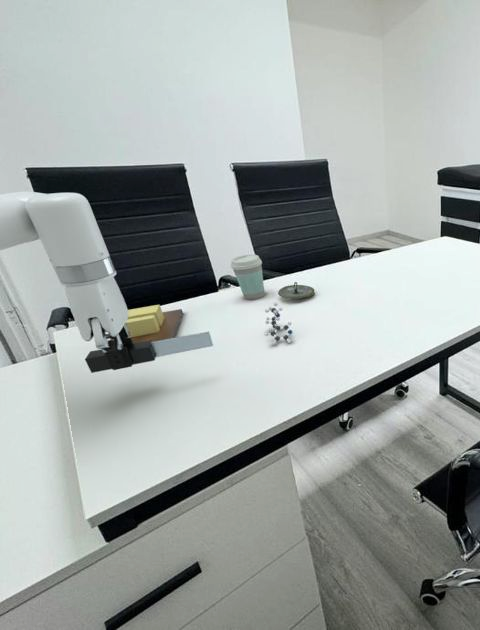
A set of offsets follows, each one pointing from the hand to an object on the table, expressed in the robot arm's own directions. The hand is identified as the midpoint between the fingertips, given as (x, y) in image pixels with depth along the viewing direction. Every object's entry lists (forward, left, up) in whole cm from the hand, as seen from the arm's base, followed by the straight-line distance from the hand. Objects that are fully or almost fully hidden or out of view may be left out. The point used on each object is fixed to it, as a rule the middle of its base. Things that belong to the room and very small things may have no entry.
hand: (125, 361), depth 73 cm
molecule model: (+27, +12, -7) cm, 31 cm away
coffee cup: (+22, +42, -7) cm, 48 cm away
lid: (+34, +35, -7) cm, 50 cm away
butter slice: (-4, +25, -6) cm, 26 cm away
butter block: (-4, +31, -6) cm, 31 cm away
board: (-4, +27, -7) cm, 28 cm away
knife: (+5, 0, 0) cm, 5 cm away
